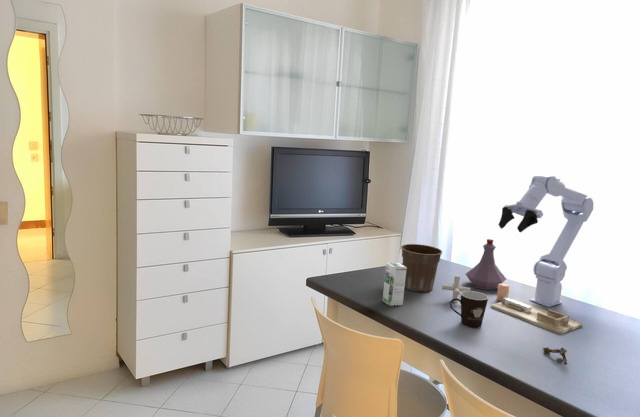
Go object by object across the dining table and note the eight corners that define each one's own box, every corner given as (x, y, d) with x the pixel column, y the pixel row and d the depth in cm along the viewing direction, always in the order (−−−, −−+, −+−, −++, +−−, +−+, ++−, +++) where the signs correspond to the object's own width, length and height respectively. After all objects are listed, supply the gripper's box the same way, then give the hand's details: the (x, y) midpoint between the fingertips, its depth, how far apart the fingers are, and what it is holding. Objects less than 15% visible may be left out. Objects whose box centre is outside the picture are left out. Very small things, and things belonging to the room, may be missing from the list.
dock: (513, 301, 181) (514, 292, 180) (581, 326, 159) (583, 316, 159) (490, 307, 173) (491, 298, 172) (559, 334, 152) (560, 324, 151)
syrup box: (381, 300, 173) (385, 262, 170) (396, 299, 175) (399, 262, 172) (388, 306, 167) (392, 267, 165) (403, 305, 169) (407, 266, 167)
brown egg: (500, 297, 184) (502, 283, 183) (509, 301, 181) (511, 286, 180) (494, 299, 182) (496, 284, 181) (503, 302, 179) (505, 287, 178)
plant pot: (443, 287, 193) (447, 248, 190) (430, 297, 180) (434, 256, 177) (406, 278, 202) (410, 241, 199) (391, 287, 188) (394, 248, 185)
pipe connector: (469, 308, 171) (472, 281, 169) (441, 304, 173) (444, 278, 171) (467, 298, 180) (470, 273, 179) (440, 295, 182) (443, 270, 181)
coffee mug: (484, 321, 158) (488, 293, 157) (484, 331, 150) (488, 301, 149) (449, 315, 162) (452, 287, 160) (447, 324, 154) (450, 295, 152)
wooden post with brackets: (566, 365, 129) (563, 347, 130) (545, 363, 136) (542, 347, 138) (571, 364, 129) (568, 347, 131) (550, 362, 137) (547, 346, 138)
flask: (482, 278, 208) (487, 234, 205) (514, 290, 195) (520, 243, 191) (455, 282, 200) (460, 236, 197) (487, 295, 186) (493, 246, 183)
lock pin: (504, 302, 176) (505, 297, 175) (531, 312, 167) (531, 306, 167) (501, 303, 175) (502, 297, 174) (527, 313, 166) (528, 307, 166)
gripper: (508, 190, 170) (487, 217, 167) (545, 194, 158) (523, 223, 154) (516, 204, 173) (495, 230, 170) (552, 209, 161) (531, 238, 157)
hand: (509, 228), depth 162 cm, fingers open, 7 cm apart
